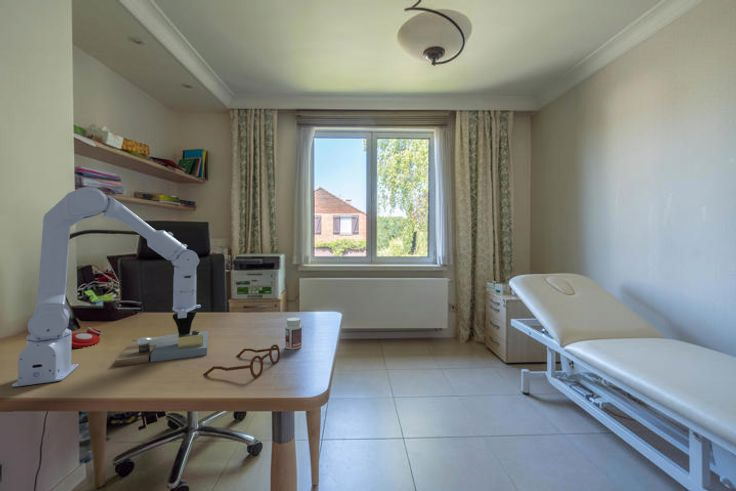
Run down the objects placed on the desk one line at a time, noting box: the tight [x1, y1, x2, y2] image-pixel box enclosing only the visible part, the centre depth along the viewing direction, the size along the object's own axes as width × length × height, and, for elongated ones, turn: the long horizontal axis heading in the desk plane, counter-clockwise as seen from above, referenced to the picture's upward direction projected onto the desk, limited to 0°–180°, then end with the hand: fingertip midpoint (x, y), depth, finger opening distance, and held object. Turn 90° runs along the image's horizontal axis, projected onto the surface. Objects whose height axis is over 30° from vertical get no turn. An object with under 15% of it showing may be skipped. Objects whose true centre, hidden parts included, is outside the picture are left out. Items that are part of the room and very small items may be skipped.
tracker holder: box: [71, 326, 103, 349], centre depth 94 cm, size 12×4×10 cm
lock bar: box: [136, 329, 200, 347], centre depth 86 cm, size 15×3×2 cm, turn 116°
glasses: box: [202, 344, 281, 379], centre depth 77 cm, size 13×13×5 cm
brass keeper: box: [178, 334, 203, 348], centre depth 87 cm, size 4×6×3 cm
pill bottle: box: [284, 317, 303, 351], centre depth 92 cm, size 5×5×8 cm
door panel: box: [150, 330, 210, 363], centre depth 90 cm, size 18×13×2 cm
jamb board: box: [114, 339, 156, 368], centre depth 86 cm, size 18×7×3 cm, turn 26°
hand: (184, 337), depth 90 cm, fingers closed
